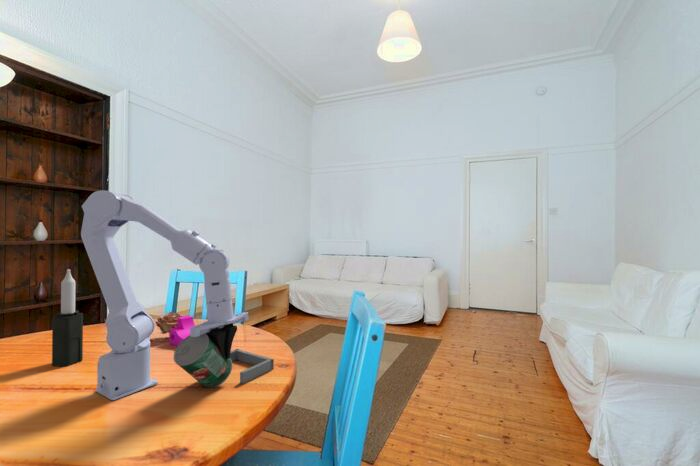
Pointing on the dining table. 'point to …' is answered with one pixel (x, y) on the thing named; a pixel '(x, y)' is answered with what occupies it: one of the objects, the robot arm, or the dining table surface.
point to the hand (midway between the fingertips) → (224, 358)
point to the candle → (67, 328)
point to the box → (259, 361)
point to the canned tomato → (203, 360)
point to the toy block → (181, 330)
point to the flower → (168, 321)
